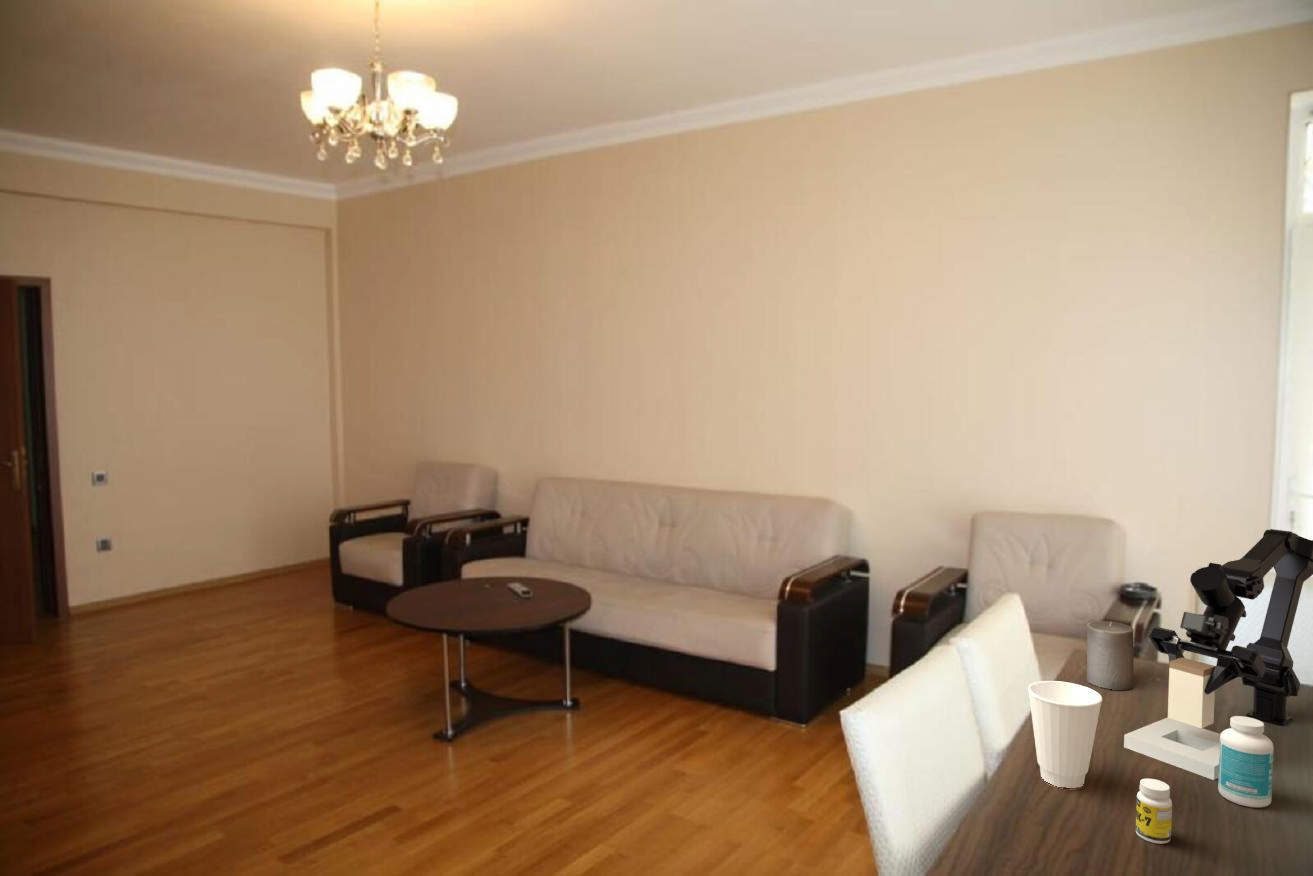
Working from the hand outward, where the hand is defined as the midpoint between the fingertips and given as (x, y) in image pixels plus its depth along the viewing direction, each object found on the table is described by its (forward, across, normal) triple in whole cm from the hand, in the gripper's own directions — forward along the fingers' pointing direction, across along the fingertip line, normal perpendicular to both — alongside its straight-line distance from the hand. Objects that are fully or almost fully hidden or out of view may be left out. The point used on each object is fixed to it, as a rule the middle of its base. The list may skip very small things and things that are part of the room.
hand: (1187, 687), depth 158 cm
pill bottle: (+16, +14, +2) cm, 21 cm away
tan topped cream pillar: (+4, 0, +6) cm, 7 cm away
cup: (+30, -6, -12) cm, 33 cm away
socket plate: (+8, 0, +10) cm, 13 cm away
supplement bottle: (+34, +12, -15) cm, 39 cm away
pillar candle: (-8, -29, +27) cm, 41 cm away
